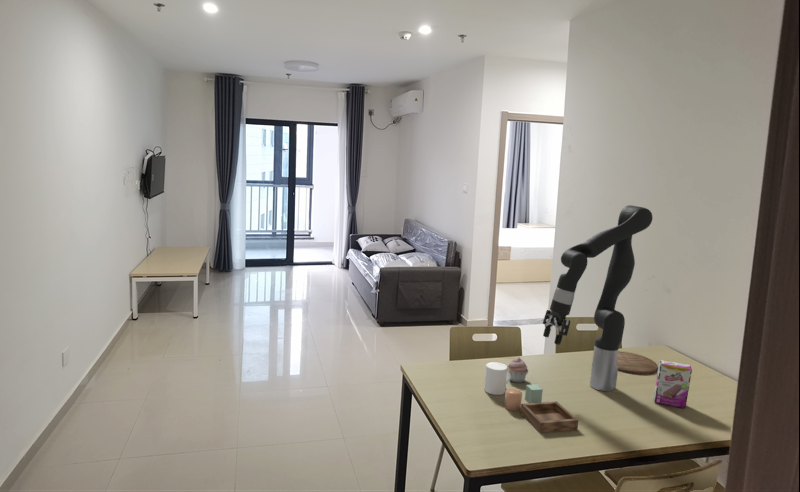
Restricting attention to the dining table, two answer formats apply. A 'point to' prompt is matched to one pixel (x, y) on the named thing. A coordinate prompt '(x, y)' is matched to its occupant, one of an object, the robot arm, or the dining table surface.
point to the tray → (549, 417)
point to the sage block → (533, 394)
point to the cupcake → (517, 370)
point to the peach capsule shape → (513, 399)
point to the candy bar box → (672, 384)
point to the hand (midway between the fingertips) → (551, 340)
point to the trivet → (635, 363)
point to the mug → (496, 378)
